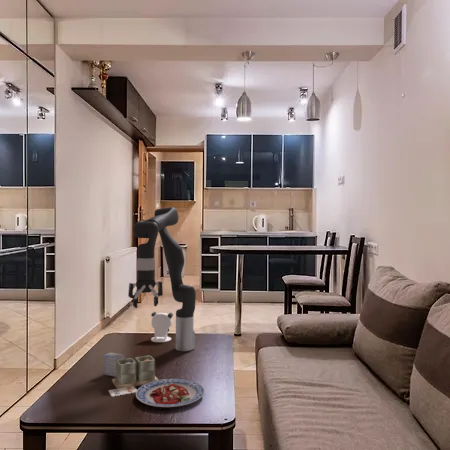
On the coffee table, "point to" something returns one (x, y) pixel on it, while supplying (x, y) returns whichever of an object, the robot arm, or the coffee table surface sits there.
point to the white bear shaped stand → (161, 326)
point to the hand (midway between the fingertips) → (145, 306)
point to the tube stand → (134, 372)
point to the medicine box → (111, 363)
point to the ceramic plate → (170, 392)
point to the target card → (122, 391)
